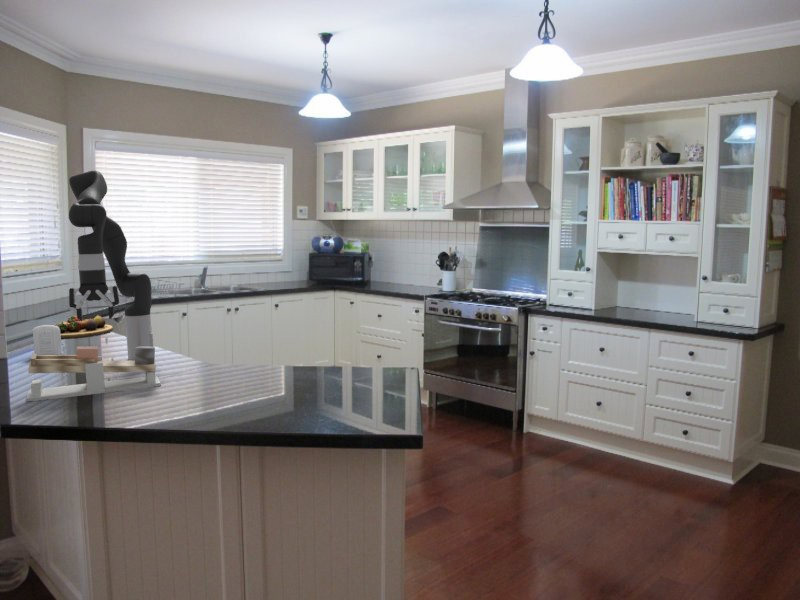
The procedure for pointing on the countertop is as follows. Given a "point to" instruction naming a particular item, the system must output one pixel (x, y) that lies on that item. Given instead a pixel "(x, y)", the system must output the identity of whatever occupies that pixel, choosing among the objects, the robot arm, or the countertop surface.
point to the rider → (87, 352)
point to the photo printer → (47, 340)
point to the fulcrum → (91, 384)
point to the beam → (73, 365)
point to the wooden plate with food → (83, 327)
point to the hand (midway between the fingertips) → (95, 319)
